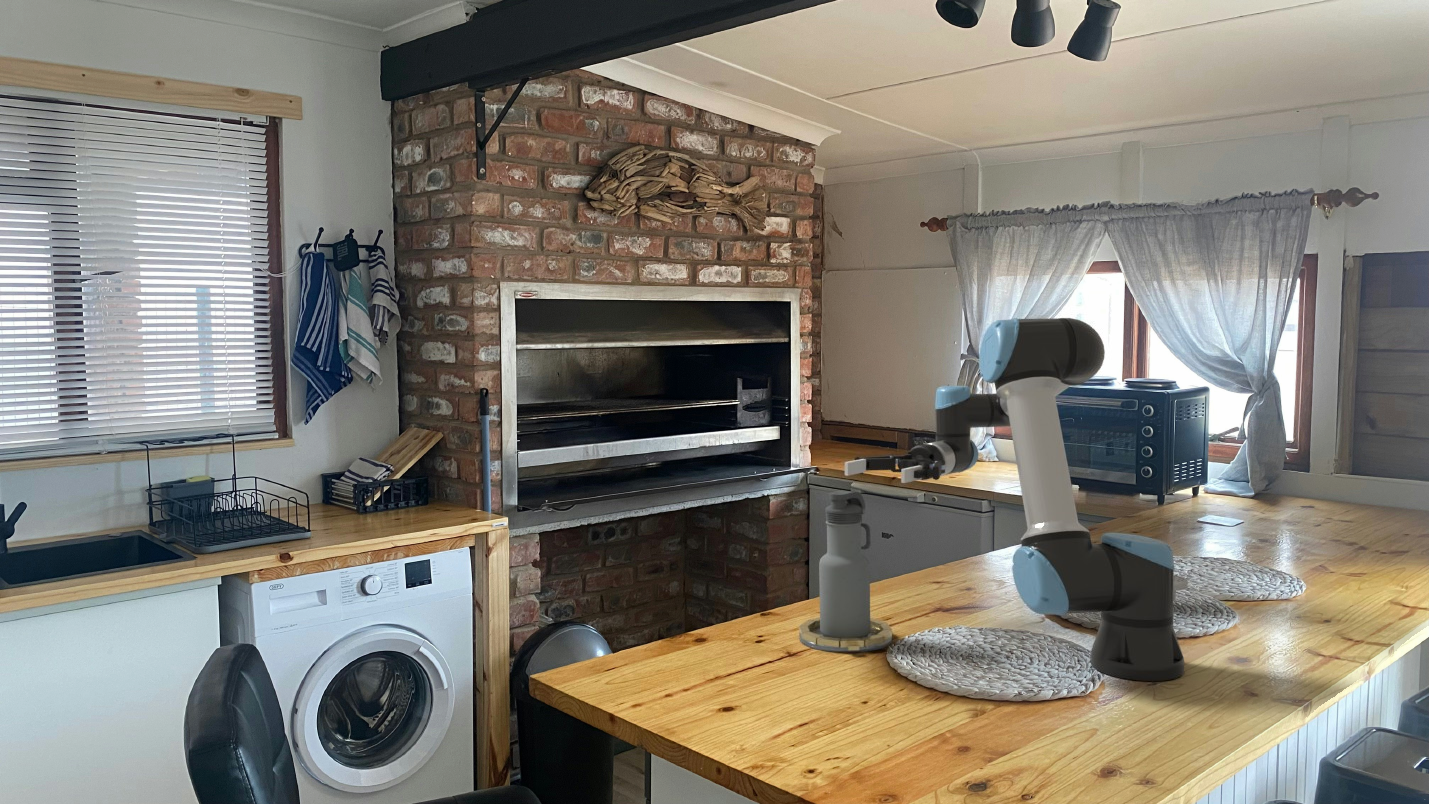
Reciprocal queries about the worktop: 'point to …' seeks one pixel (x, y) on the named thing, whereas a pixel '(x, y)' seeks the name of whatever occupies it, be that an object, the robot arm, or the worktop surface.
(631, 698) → the worktop surface
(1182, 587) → the showerhead
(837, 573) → the water bottle
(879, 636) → the collar
